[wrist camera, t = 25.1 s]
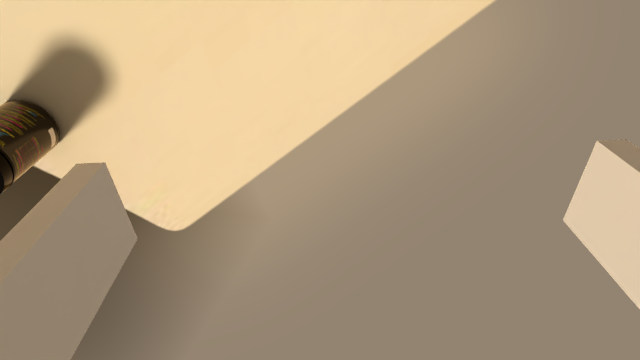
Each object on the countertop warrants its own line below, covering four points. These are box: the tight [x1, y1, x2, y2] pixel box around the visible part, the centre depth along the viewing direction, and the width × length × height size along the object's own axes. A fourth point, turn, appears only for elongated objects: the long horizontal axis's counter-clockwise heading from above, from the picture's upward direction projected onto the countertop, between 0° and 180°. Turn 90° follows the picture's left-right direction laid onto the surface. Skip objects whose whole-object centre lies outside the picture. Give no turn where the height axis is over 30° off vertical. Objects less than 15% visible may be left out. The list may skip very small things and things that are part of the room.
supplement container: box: [0, 101, 59, 194], centre depth 40 cm, size 7×7×10 cm
